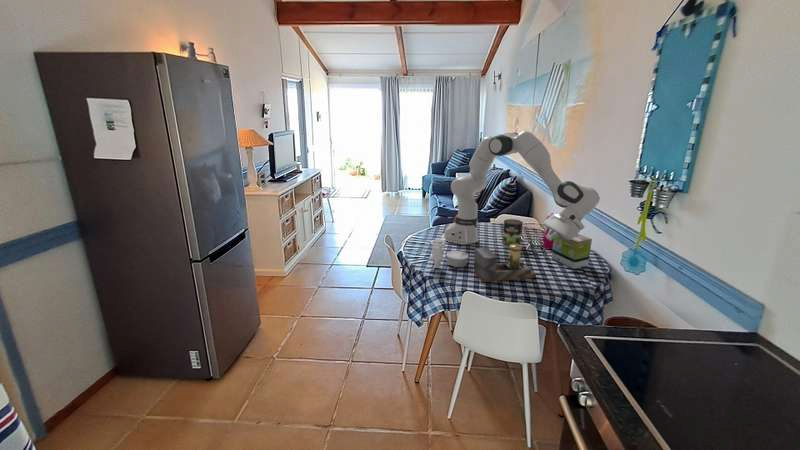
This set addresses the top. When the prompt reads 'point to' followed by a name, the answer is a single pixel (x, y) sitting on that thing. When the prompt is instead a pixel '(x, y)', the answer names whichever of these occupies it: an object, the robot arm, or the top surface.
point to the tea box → (572, 251)
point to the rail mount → (497, 268)
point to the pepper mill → (547, 242)
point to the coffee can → (512, 232)
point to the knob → (514, 257)
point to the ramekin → (457, 258)
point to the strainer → (438, 252)
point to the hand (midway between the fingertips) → (547, 238)
